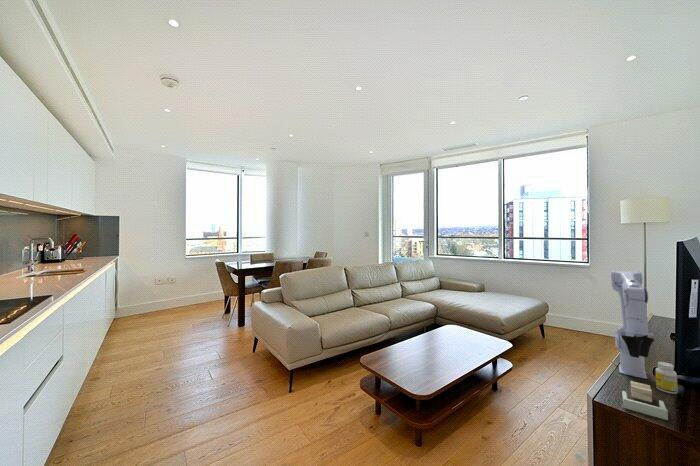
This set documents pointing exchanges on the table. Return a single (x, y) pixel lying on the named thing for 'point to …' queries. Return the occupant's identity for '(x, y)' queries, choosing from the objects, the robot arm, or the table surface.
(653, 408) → the dock
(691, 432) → the table surface
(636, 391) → the birch block
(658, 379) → the supplement bottle
